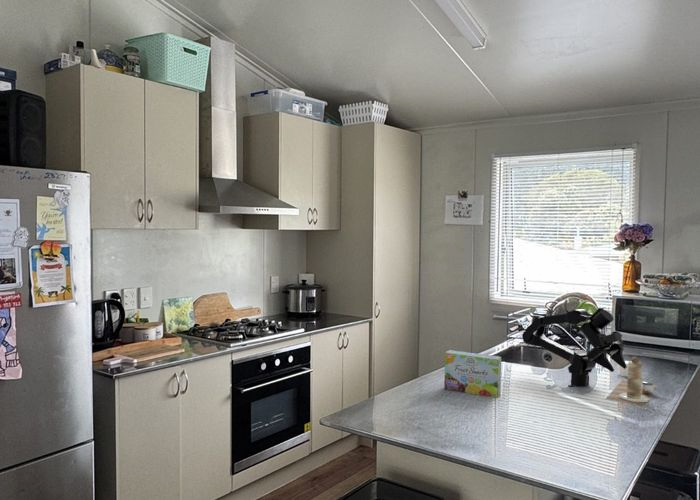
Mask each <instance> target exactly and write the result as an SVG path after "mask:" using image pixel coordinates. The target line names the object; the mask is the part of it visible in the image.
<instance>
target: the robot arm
mask: <svg viewBox="0 0 700 500" xmlns="http://www.w3.org/2000/svg"><path fill="white" fill-rule="evenodd" d="M614 320H615V319H614V317H613V314H612V313H610V311H608V310H606V309H605V308H603V307H598V308H597V310H596V311H594V312H593V313H590V312H588V311H587V310H586V309H584V308H581V309H580V308H579V309H572V310H569V311H567V312H565V313H561V314H555V315H547V316H536V317H535V318H534V320H533V321H532V322H531V324H530V325H528V326H527V328H526V329H525V330H524V331H523V332H522V342H523V343H525V344H526V345H530V346H536V347H540V348H542V349H545V350H547V351H548V352H550V353H553V354H554V355H557V357H560V358H562V359H564V360H566V361H567V362H569V363H570V365H569V366H568V368H567V369H568V372H569V373H570V377H571V378H570V384H567V386H568V387H569V388H574V387H579V388H587V386H589V385H590V376H589V374H590V373H592V371H593V369H594V368H595V366H596V364H597V365H599V366H601V367H603V368H604V369H606V370H608V371H610V372H611V373H612V372H613V373H614V372H615V369H614V367H613V365H612V363H611V362H610V361H609V359H608V358H607V357H608V356H609V358H610V359H611V360H613V362H615V363H616V364H619V365H620V366H621V367H623V368H624V369H625V368H627V366H626V364H625V361H626V360H625V359H624V356H623V355H624V354H623V351H624V350H625V345H624V344H623V343H622V342H621V341H622V337H623V335H622V334H621V332H619V330H615V331H611V333H609V334H606V333H602V332H601V331H600V330H603V329H605V328H606V327H608V325H610V324H611V323H612V322H613V321H614ZM556 324H557V325H558V324H571V325H578V324H580V325H578V326H576V331H575V333H576V334H581V333H582V335H584V337H585V338H586V339H587V341H588V342H587V345H588V346H590V345H591V346H592V348H591V350H589V351H588V352H587V351H585V350H583V349H581V350H575V351H574V350H572V349H571V348H568V347H566V346H564V345H561V344H560V343H558V342H556V341H553V340H552V339H549V338H548V337H546V335H545V334H544V333H545V331H546V326H547V325H548V326H549V325H556ZM581 324H582V325H581ZM624 360H625V361H624Z"/></svg>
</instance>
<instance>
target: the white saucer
mask: <svg viewBox="0 0 700 500" xmlns="http://www.w3.org/2000/svg"><path fill="white" fill-rule="evenodd" d="M619 397H620V398H621V399H623V400H626V401H631V402H639V403H644V402H646V403H649V399H650V397H649V398H647V397H646V396H643V395H641V398H640V399H633V398H629V397H627V396H626V393H622V394H619Z"/></svg>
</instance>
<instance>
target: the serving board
mask: <svg viewBox="0 0 700 500" xmlns="http://www.w3.org/2000/svg"><path fill="white" fill-rule="evenodd" d="M627 382H628V380H621V381H620V382H619V383H618V384H617V386H616V387H615V388H613V390H612V391H611V392H610V393H609V394H608V395H607V396H606V397H605V400H608V401H613V402H617V403H618V402H619V403H625V404H631V405H634V406H641V407H644V406H645V405H646V404H647V402H644V403H639V402H631V401H626V400H623V399H621V398H620V397H619V394H622V393H627ZM656 388H657V385H655V384H654V385H653V392H654V391H655V389H656ZM641 391H642V382H641ZM641 395H643V396H646V397H647V398H649V399H650V397H651V396H652V395H646V394H642V393H641Z"/></svg>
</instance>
